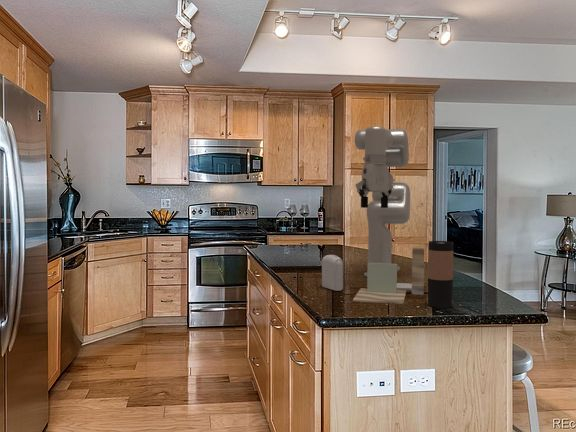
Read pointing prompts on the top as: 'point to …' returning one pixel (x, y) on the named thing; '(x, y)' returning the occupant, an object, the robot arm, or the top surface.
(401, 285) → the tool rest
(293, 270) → the top surface
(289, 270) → the top surface
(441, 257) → the travel mug
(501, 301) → the top surface
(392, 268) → the tile
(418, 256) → the wooden block
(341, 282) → the photo printer
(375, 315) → the top surface
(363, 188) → the robot arm
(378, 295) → the oak board
